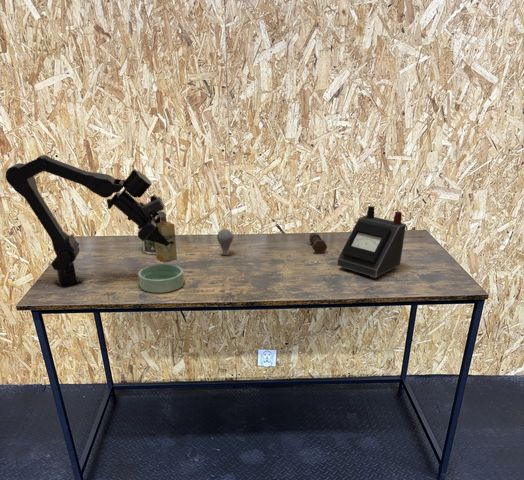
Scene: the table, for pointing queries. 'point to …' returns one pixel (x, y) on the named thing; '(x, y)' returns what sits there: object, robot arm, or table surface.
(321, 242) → the bolt
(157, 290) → the basin
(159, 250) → the shoe polish box
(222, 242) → the light bulb
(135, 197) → the robot arm
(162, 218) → the coffee can
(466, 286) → the table surface
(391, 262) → the voltmeter
